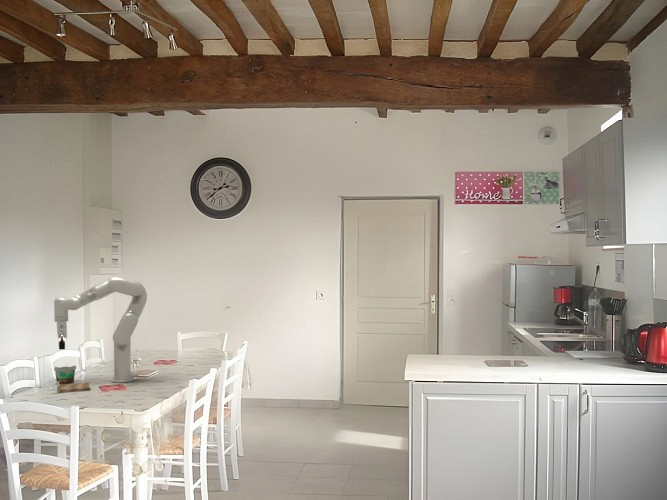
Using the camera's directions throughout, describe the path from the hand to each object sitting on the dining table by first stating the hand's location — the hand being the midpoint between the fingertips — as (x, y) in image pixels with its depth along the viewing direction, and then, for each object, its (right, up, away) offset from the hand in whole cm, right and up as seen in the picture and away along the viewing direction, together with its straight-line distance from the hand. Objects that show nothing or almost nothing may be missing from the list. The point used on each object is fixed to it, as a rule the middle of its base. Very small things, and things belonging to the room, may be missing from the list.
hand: (61, 348), depth 408 cm
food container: (+1, -21, +1) cm, 21 cm away
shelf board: (+13, -21, -15) cm, 29 cm away
